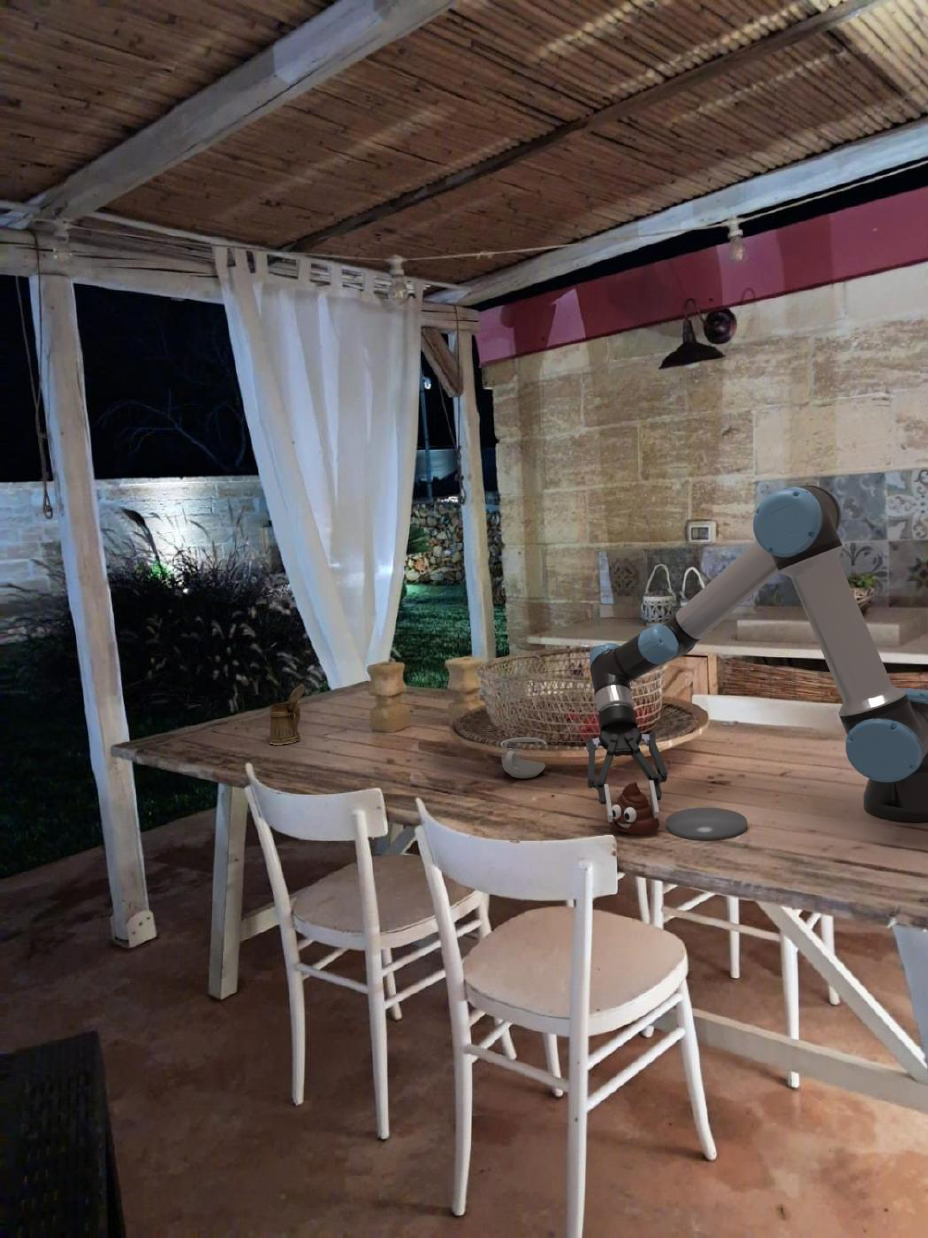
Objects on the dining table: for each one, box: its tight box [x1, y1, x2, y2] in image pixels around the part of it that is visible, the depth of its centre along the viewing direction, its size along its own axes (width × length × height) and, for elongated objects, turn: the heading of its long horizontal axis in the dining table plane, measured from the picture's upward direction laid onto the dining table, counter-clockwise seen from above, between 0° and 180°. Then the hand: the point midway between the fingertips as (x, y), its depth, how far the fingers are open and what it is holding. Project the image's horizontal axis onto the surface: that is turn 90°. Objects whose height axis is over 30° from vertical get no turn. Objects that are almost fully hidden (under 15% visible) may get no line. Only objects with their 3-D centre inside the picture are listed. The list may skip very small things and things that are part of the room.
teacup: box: [499, 736, 547, 779], centre depth 218 cm, size 14×11×8 cm
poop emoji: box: [608, 781, 661, 836], centre depth 176 cm, size 10×8×9 cm
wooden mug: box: [268, 682, 306, 743], centre depth 272 cm, size 9×14×18 cm, turn 61°
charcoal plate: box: [665, 807, 748, 842], centre depth 176 cm, size 15×15×1 cm
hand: (633, 816), depth 173 cm, fingers closed on poop emoji, 8 cm apart
